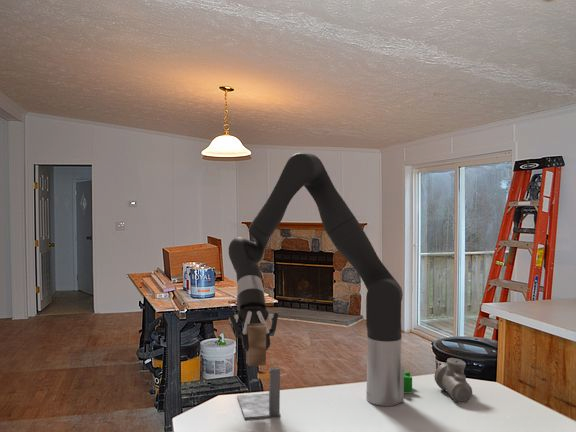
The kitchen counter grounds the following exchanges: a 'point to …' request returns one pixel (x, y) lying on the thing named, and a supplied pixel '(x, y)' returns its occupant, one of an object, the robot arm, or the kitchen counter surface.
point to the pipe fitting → (453, 379)
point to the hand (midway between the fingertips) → (257, 348)
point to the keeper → (263, 398)
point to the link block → (256, 344)
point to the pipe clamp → (407, 382)
